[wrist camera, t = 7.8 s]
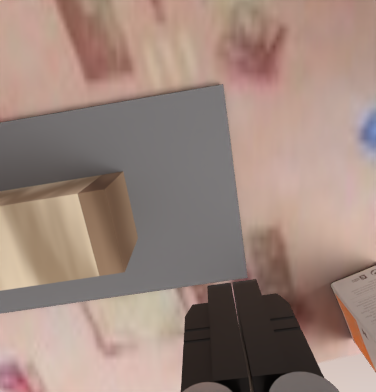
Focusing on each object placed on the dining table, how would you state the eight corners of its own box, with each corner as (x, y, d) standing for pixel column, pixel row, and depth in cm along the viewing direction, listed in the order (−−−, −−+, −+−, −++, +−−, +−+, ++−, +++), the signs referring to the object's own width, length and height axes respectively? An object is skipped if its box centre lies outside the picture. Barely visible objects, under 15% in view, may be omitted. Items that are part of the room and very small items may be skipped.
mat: (222, 84, 21) (223, 84, 20) (246, 275, 24) (247, 277, 24) (-70, 135, 21) (-75, 135, 21) (-4, 311, 25) (-7, 314, 25)
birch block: (104, 189, 17) (-74, 217, 17) (124, 272, 18) (-42, 296, 19) (123, 171, 22) (-17, 194, 22) (138, 238, 23) (6, 258, 23)
